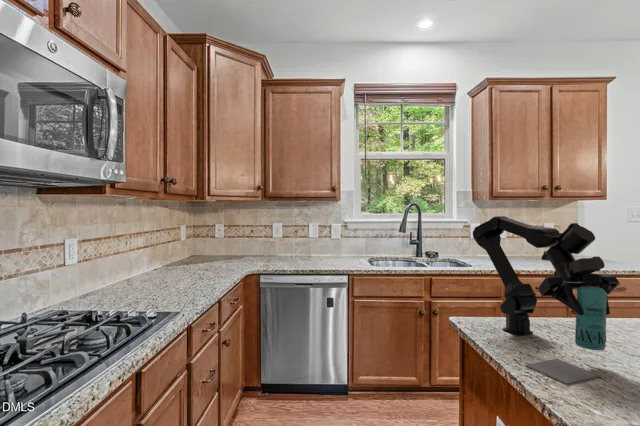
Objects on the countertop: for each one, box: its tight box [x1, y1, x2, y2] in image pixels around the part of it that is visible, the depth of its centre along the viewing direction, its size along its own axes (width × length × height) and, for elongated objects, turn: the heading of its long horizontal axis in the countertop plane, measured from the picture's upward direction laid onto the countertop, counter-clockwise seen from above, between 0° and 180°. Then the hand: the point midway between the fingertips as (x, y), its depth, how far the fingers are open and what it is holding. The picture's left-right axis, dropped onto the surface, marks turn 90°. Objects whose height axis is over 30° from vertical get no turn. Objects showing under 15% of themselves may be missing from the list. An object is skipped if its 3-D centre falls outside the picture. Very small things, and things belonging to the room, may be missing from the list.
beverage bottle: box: [574, 273, 608, 351], centre depth 94 cm, size 6×7×20 cm
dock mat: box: [525, 358, 602, 386], centre depth 91 cm, size 11×11×1 cm
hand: (595, 314), depth 93 cm, fingers closed on beverage bottle, 6 cm apart
